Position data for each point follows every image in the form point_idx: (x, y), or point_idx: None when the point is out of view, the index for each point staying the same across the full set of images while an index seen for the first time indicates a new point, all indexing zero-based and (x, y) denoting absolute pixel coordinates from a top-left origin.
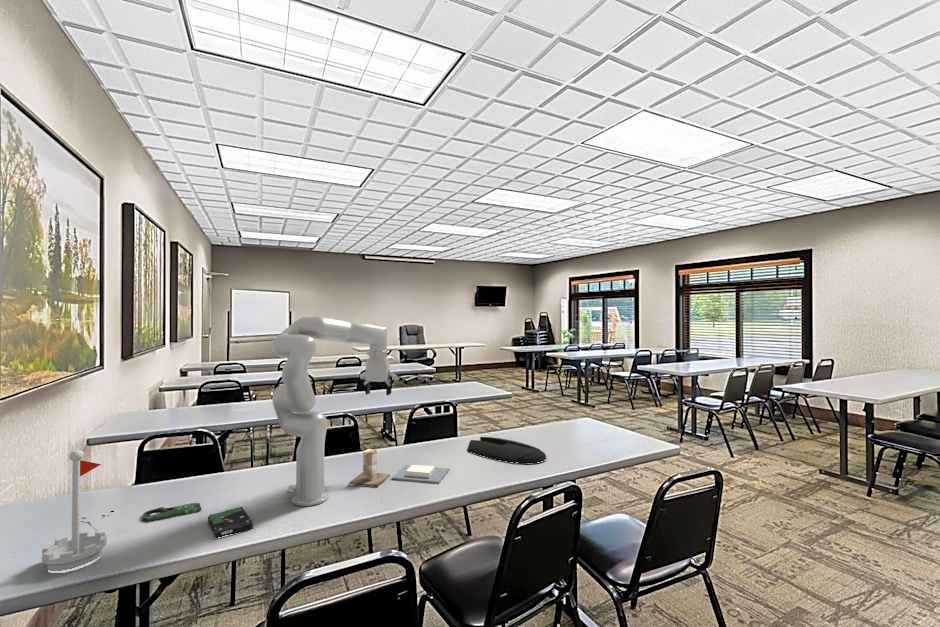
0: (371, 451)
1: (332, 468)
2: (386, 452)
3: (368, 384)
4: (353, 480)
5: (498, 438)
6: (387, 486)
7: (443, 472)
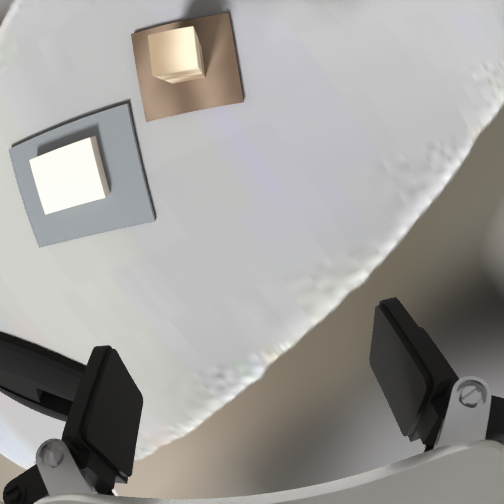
0: (160, 44)
1: (368, 118)
2: (290, 303)
3: (422, 421)
4: (225, 28)
5: (66, 418)
6: (111, 55)
7: (32, 213)
